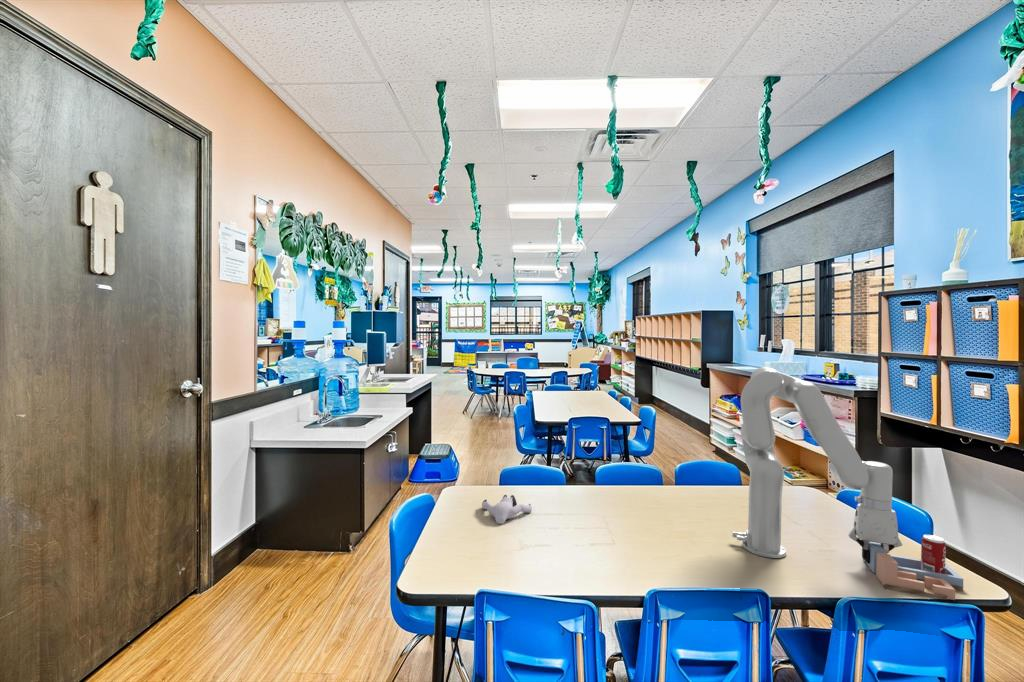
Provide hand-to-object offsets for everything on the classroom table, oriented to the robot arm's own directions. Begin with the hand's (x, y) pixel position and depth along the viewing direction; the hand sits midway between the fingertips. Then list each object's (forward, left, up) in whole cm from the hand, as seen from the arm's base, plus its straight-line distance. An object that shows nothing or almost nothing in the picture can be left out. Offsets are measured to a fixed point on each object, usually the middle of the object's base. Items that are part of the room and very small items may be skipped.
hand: (874, 562), depth 138 cm
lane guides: (+9, -4, -2) cm, 10 cm away
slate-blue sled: (+9, 0, -1) cm, 9 cm away
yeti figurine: (-120, -11, -2) cm, 120 cm away
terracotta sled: (+3, -9, -1) cm, 10 cm away
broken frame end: (+12, -10, -2) cm, 15 cm away
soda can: (+14, 0, -2) cm, 14 cm away
